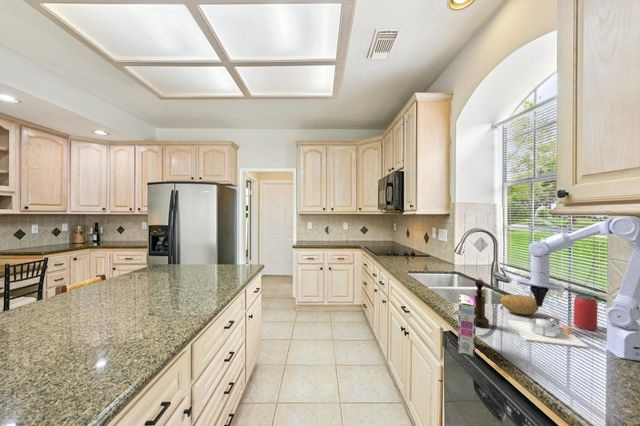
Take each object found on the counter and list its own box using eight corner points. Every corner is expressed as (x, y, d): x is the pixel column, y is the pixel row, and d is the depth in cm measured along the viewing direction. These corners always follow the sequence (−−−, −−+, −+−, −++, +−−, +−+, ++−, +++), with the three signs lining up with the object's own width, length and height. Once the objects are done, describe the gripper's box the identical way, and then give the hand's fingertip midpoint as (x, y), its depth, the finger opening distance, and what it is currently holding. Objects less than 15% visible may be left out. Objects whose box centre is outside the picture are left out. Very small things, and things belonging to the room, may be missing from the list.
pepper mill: (478, 320, 114) (479, 277, 113) (492, 326, 107) (493, 281, 107) (466, 322, 111) (466, 278, 111) (479, 329, 105) (480, 282, 105)
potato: (498, 307, 128) (498, 290, 128) (535, 312, 122) (535, 294, 122) (502, 314, 119) (502, 296, 119) (542, 320, 113) (542, 301, 113)
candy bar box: (475, 357, 85) (476, 305, 85) (457, 354, 87) (458, 303, 87) (474, 342, 95) (474, 295, 95) (458, 339, 97) (458, 293, 97)
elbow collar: (552, 338, 96) (552, 329, 96) (525, 329, 103) (525, 320, 103) (569, 330, 102) (569, 322, 102) (543, 322, 109) (543, 314, 109)
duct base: (589, 348, 91) (589, 334, 91) (525, 340, 96) (525, 327, 96) (560, 327, 107) (560, 315, 107) (507, 321, 112) (507, 310, 112)
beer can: (601, 332, 103) (602, 300, 103) (581, 330, 104) (581, 299, 104) (588, 324, 109) (589, 295, 109) (569, 323, 111) (569, 294, 110)
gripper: (565, 273, 105) (565, 308, 105) (520, 267, 115) (519, 299, 115) (563, 276, 100) (562, 312, 100) (515, 269, 111) (515, 302, 111)
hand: (539, 305), depth 107 cm, fingers closed
